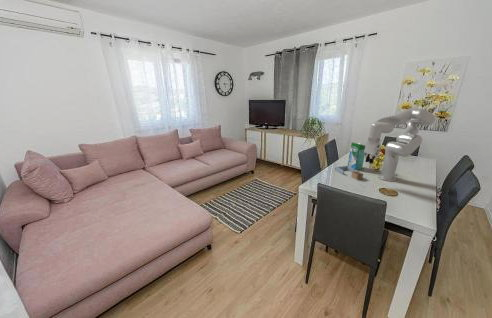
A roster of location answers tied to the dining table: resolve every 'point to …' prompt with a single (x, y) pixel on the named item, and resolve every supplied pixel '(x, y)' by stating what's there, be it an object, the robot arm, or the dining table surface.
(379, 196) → the dining table surface
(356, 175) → the block
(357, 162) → the milk carton
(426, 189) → the dining table surface
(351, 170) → the bay
